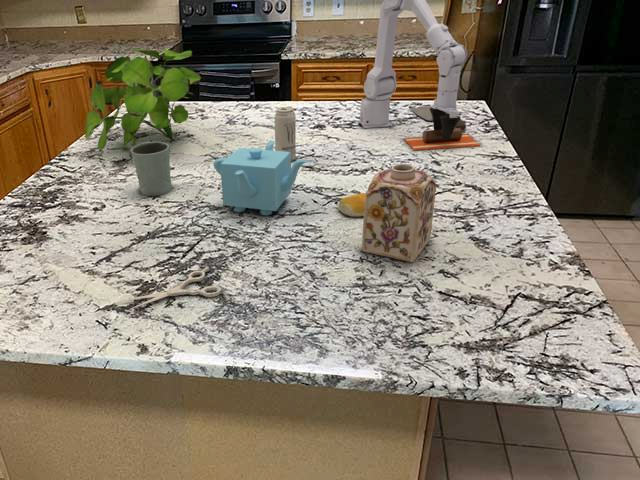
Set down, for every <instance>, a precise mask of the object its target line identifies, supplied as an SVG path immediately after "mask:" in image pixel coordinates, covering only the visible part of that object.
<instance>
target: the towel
mask: <svg viewBox="0 0 640 480" xmlns="http://www.w3.org/2000/svg"><path fill="white" fill-rule="evenodd" d="M403 140H404V141H405V143H406V144H407V145H409V146H410V148H411V149H412V150H413V151H415V152H416V151H428V150H429V151H430V150H442V149H444V150H445V149H457V148H470V147H471V148H472V147H481V144H480V143H479V142H478V141H476V140H475V139H473V137H471V136H470V135H469V134H467V133H462V137H461V140H455V141H441V142H428V143H424V142H423V136H417V137H405V138H403Z"/></svg>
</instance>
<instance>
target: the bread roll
mask: <svg viewBox="0 0 640 480" xmlns="http://www.w3.org/2000/svg"><path fill="white" fill-rule="evenodd" d="M365 198H366V192H364V193H356V194H352V195H349V196H345V197H343V198H342V199H341V200H340V201H339V203H338V210H339V211H340V212H341V213H343V215H345V216H348V217H353V218H354V217H355V218H357V217H364V208H365Z"/></svg>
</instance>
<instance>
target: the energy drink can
mask: <svg viewBox="0 0 640 480" xmlns="http://www.w3.org/2000/svg"><path fill="white" fill-rule="evenodd" d="M296 133H297V131H296V113H295V111H294V107H291V106H281V107H278V108H276V112H275V114H274V151H284V152H290V153H291V162H293V161H294V159H295V158H296V156H297V155H296V151H297V150H296V149H297V148H296V147H297V146H296V144H297V143H296V139H297V138H296V136H297V135H296Z"/></svg>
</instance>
